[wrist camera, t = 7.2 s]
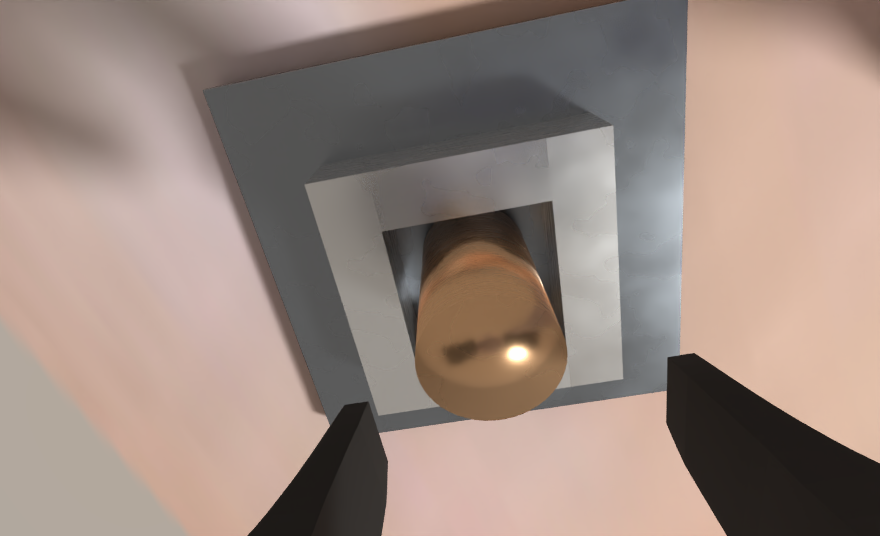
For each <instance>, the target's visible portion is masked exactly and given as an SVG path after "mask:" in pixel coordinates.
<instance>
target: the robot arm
mask: <svg viewBox="0 0 880 536" xmlns="http://www.w3.org/2000/svg"><path fill="white" fill-rule="evenodd" d="M666 423H667V426H668V428H669V430H670V433H671V435H672V437H673V440H674V442H675V444H676V447H677V449H678V451H679V453H680V455H681V458H682V460H683V462H684V464H685V466H686V467H687V469H688V471H689V473H690V474H691V476H692V478H693V479H694V481H695V483H696V485H697V486H698V488H699V490H700V491H701V493H702V495H703V496H704V498H705V500H706V501H707V503H708V505H709V506H710V508H711V510H712V511H713V513H714V515H715V516H716V518H717V520H718V521H719V523H720V525H721V526H722V528H723V530H724V531H725V533H726V535H727V536H880V463H878V462H876V461H874V460H872V459H870V458H867V457H865V456H863V455H861V454H859V453H857V452H855V451H853V450H851V449H849V448H848V447H846V446H844V445H842V444H840V443H838V442H836V441H834V440H832V439H831V438H829V437H827V436H825V435H824V434H822V433H820V432H818V431H817V430H815V429H813V428H811V427H809V426H808V425H806V424H804V423H802V422H801V421H799V420H797V419H796V418H794V417H792V416H791V415H789V414H787V413H786V412H784V411H782V410H781V409H779V408H777V407H776V406H774V405H773V404H771V403H769V402H768V401H766V400H765V399H763V398H761V397H760V396H758V395H757V394H755V393H754V392H752V391H751V390H749V389H748V388H746V387H744V386H743V385H741V384H740V383H738V382H737V381H735V380H734V379H732V378H731V377H729V376H728V375H726V374H725V373H723V372H722V371H720V370H719V369H717V368H716V367H714V366H713V365H711V364H710V363H708V362H707V361H705V360H704V359H702V358H701V357H699V356H698V355H696V354H695V353H692V354H685V355H679V356H672V357H667V415H666ZM387 472H388V460H387V457H386V454H385V451H384V448H383V445H382V442H381V439H380V435H379V432H378V429H377V426H376V423H375V420H374V417H373V414H372V411H371V408H370V404H369V401H367V402H360V403H354V404H347V405H344V406H343V408H342V409H341V410H340V412H339V413H338V415H337V416H336V418H335V419H334V421H333V422H332V424H331V425H330V427H329V428H328V430H327V431H326V433H325V434H324V436H323V437H322V439H321V440H320V442H319V443H318V445H317V446H316V448H315V449H314V451H313V452H312V454H311V455H310V456H309V458H308V459H307V461H306V462H305V464H304V465H303V466H302V468H301V469H300V471H299V472H298V474H297V475H296V476H295V478H294V479H293V480H292V482H291V483H290V484H289V486H288V487H287V488H286V489H285V491H284V492H283V493H282V495H281V496H280V497H279V499H278V500H277V501H276V502H275V504H274V505H273V506H272V508H271V509H270V510H269V511H268V512H267V514H266V515H265V516H264V517H263V518H262V520H261V521H260V522H259V523H258V524H257V526H256V527H255V528H254V529H253V530H252V531H251V532H250V533H249V535H248V536H381V535H382V528H383V522H384V515H385V508H386V499H387Z"/></svg>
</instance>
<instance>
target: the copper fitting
mask: <svg viewBox="0 0 880 536" xmlns="http://www.w3.org/2000/svg"><path fill="white" fill-rule="evenodd" d="M567 357H568V354H567V345H566V341H565V338H564V335H563V333H562V330H561V328H560V325H559V323H558V321H557V318H556V316H555V313H554V311H553V308H552V306H551V304H550V301H549V299H548V296H547V294H546V292H545V289H544V287H543V284H542V282H541V279H540V277H539V275H538V272H537V270H536V267H535V265H534V263H533V260H532V258H531V255H530V253H529V250H528V248H527V246H526V243H525V241H524V238H523V236H522V233H521V231H520V230H519V228H518V226H517V225H516V224H515V222H514V221H513V220H512V219H511V218H510V217H509V216H507V215H506V214H504V213H503V212H501V211H499V210H498V211H493V212H487V213H482V214H476V215H471V216H465V217H459V218H454V219H448V220H443V221H437V222H435V223H434V224H433V226H432V227H431V228H430V230H429V232H428V233H427V235H426V238H425V241H424V245H423V253H422V267H421V281H420V295H419V308H418V322H417V336H416V350H415V369H416V373H417V377H418V380H419V382H420V384H421V386H422V388H423V389H424V391H425V392H426V393H427V395H428V396H429V397H430V398H431V399H432V400H433V401H434V402H435V403H436V404H438V405H439V406H440V407H442V408H443V409H445V410H447V411H449V412H451V413H453V414H455V415H458V416H461V417H464V418H468V419H474V420H484V421H488V420H501V419H507V418H511V417H515V416H518V415H521V414H523V413H525V412H527V411H530V410H531V409H533V408H535V407H536V406H538V405H539V404H541V403H542V402H543V401H545V400H546V399H547V398H548V397H549V396H550V395H551V394H552V393H553V392H554V390H555V389H556V388H557V386H558V385H559V383H560V381H561V380H562V377H563V375H564V373H565V369H566V365H567Z"/></svg>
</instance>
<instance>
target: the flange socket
mask: <svg viewBox="0 0 880 536" xmlns="http://www.w3.org/2000/svg"><path fill="white" fill-rule="evenodd" d="M687 12H688V0H623V1H619V2H614V3H609V4H605V5H600V6H595V7H590V8H586V9H581V10H576V11H572V12H567V13H562V14H557V15H553V16H548V17H543V18H539V19H534V20H529V21H524V22H520V23H515V24H510V25H506V26H501V27H496V28H491V29H487V30H482V31H477V32H473V33H468V34H463V35H458V36H454V37H449V38H444V39H440V40H435V41H430V42H425V43H421V44H416V45H411V46H407V47H402V48H397V49H392V50H388V51H383V52H378V53H374V54H369V55H364V56H359V57H355V58H350V59H345V60H341V61H336V62H331V63H326V64H322V65H317V66H312V67H308V68H303V69H298V70H293V71H289V72H284V73H279V74H274V75H270V76H265V77H260V78H256V79H251V80H246V81H241V82H237V83H232V84H227V85H223V86H218V87H213V88H210V89H206V90H203V93H204V95H205V98H206V100H207V103H208V106H209V108H210V111H211V114H212V116H213V119H214V122H215V124H216V127H217V129H218V132H219V135H220V137H221V140H222V143H223V145H224V148H225V150H226V153H227V156H228V158H229V161H230V164H231V166H232V169H233V171H234V174H235V177H236V179H237V182H238V185H239V187H240V190H241V193H242V195H243V198H244V200H245V203H246V206H247V208H248V211H249V214H250V216H251V219H252V221H253V224H254V227H255V229H256V232H257V235H258V237H259V240H260V242H261V245H262V248H263V250H264V253H265V256H266V258H267V261H268V264H269V266H270V269H271V271H272V274H273V277H274V279H275V282H276V285H277V287H278V290H279V292H280V295H281V298H282V300H283V303H284V306H285V308H286V311H287V314H288V316H289V319H290V321H291V324H292V327H293V329H294V332H295V335H296V337H297V340H298V342H299V345H300V348H301V350H302V353H303V356H304V358H305V361H306V363H307V366H308V369H309V371H310V374H311V377H312V379H313V382H314V385H315V387H316V390H317V392H318V395H319V398H320V400H321V403H322V406H323V408H324V411H325V413H326V416H327V419H328V421H329V424H330V425H331V424H332V422H333V421H334V419H335V418H336V416H337V415H338V413H339V412H340V410H341V409H342V408H343V406H344V405H347V404H354V403H360V402H367V401H369V404H370V408H371V411H372V414H373V417H374V420H375V423H376V426H377V429H378V432H379V433H381V432H388V431H395V430H402V429H409V428H415V427H422V426H429V425H436V424H443V423H449V422H456V421H463V420H470V419H468V418H464V417H461V416H458V415H455V414H453V413H451V412H449V411H447V410H445V409H443V408H442V407H440V406H439V405H438V404H436V403H435V402H434V401H433V400H432V399H431V398H430V397H429V396H428V395H427V393H426V392H425V391H424V389H423V388H422V386H421V384H420V382H419V380H418V377H417V373H416V369H415V350H416V336H417V322H418V308H419V295H420V281H421V267H422V253H423V245H424V241H425V238H426V235H427V233H428V232H429V230H430V228H431V227H432V226H433V224H434V223H435V222H437V221H443V220H448V219H454V218H459V217H465V216H471V215H476V214H482V213H487V212H493V211H498V210H499V211H501V212H503V213H504V214H506V215H507V216H509V217H510V218H511V219H512V220H513V221H514V222H515V224H516V225H517V226H518V228H519V230H520V231H521V233H522V236H523V238H524V241H525V243H526V246H527V248H528V250H529V253H530V255H531V258H532V260H533V263H534V265H535V267H536V270H537V272H538V275H539V277H540V279H541V282H542V284H543V287H544V289H545V292H546V294H547V296H548V299H549V301H550V304H551V306H552V308H553V311H554V313H555V316H556V318H557V321H558V323H559V325H560V328H561V330H562V333H563V335H564V338H565V341H566V345H567V354H568V357H567V365H566V369H565V373H564V375H563V377H562V380H561V381H560V383H559V385H558V386H557V388H556V389H555V390H554V392H553V393H552V394H551V395H550V396H549V397H548V398H547V399H546V400H545V401H543V402H542V403H541V404H539V405H538V406H536V407H535V408H533V409H531V410H538V409H545V408H552V407H559V406H565V405H572V404H579V403H586V402H593V401H599V400H606V399H613V398H620V397H627V396H634V395H640V394H647V393H654V392H661V391H667V357H672V356H679V355H680V318H681V274H682V230H683V187H684V143H685V99H686V55H687ZM531 410H530V411H531Z"/></svg>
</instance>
